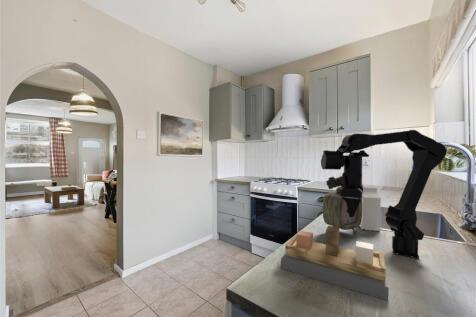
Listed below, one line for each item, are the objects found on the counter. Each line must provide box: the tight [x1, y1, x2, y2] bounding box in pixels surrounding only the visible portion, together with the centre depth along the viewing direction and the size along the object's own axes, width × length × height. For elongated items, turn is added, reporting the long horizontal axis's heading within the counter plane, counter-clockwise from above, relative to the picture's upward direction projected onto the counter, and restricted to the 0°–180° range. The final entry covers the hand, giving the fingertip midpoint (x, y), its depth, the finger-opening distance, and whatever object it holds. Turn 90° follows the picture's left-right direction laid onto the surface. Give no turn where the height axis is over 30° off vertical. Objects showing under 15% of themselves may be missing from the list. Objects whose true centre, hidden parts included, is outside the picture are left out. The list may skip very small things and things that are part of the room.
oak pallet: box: [284, 225, 387, 281], centre depth 62 cm, size 25×10×9 cm, turn 58°
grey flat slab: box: [280, 252, 389, 301], centre depth 62 cm, size 26×14×3 cm, turn 58°
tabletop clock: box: [322, 175, 362, 239], centre depth 91 cm, size 14×9×25 cm, turn 117°
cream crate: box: [355, 240, 374, 265], centre depth 58 cm, size 4×4×4 cm
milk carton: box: [359, 186, 382, 232], centre depth 99 cm, size 7×7×19 cm
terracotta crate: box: [296, 230, 314, 250], centre depth 66 cm, size 4×4×4 cm
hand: (352, 213), depth 75 cm, fingers open, 9 cm apart
